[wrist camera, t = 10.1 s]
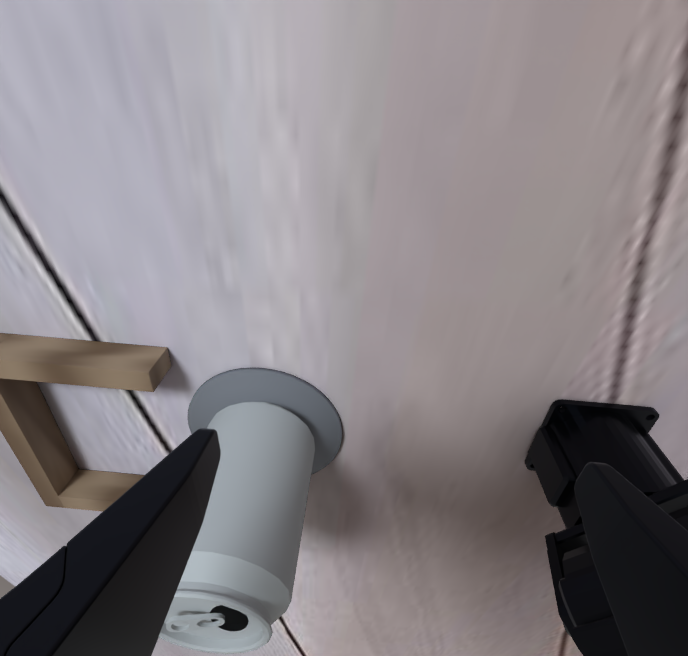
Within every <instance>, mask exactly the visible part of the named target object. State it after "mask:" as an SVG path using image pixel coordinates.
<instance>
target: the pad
mask: <svg viewBox="0 0 688 656" xmlns="http://www.w3.org/2000/svg"><path fill="white" fill-rule="evenodd" d="M243 402H267V403H271V404H275V405H279V406H281V407H283V408H285V409H286V410H288V411H290V412H292V413H293V414H294V415H296V416H297V417H298V418H299V419H300V420H301V421H303V422H304V423H305V424H306V425H307V426H308V428H309V430H310V431H311V433H312V435H313V437H314V443H315V453H314V459H313V466H312V472H311V474H314V473H316V472H318V471H319V470H321V469H323V468H324V467H325V466H327V465H328V464H329V463H330V462H331V461H332V460H333V459H334V457H335V456H336V454H337V453H338V450H339V448H340V445H341V439H342V425H341V420H340V418H339V415H338V413H337V411H336V409H335V407H334V406H333V404H332V403H331V402H330V401H329V399H328V398H327V397H326V396H325V395H324V394H323V393H322V392H320V391H319V390H318V389H317V388H315V387H314V386H312V385H311V384H309V383H307V382H306V381H304V380H302V379H300V378H298V377H296V376H293V375H290V374H287V373H285V372H281V371H277V370H272V369H265V368H240V369H234V370H230V371H226V372H223V373H220V374H218V375H216V376H214V377H212V378H211V379H209V380H208V381H206V382H205V383H204V384H203V385H202V386H201V387H200V388H199V389H198V390H197V392H196V393H195V395H194V396H193V398H192V400H191V403H190V405H189V409H188V424H189V428H190V431H191V433H192V434H193V433H194V432H195V431H196V430H198V429H200V428H207V427H208V425H209V423H210V422H211V420H212V419H213V417H214V416H215V415H216V413H218V412H219V411H221V410H223V409H224V408H226V407H228V406H230V405H235V404H239V403H243Z"/></svg>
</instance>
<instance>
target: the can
mask: <svg viewBox="0 0 688 656" xmlns="http://www.w3.org/2000/svg"><path fill="white" fill-rule="evenodd" d="M207 428H208V429H215V430H216V431H217V433H218V439H219V445H220V450H221V456H220V462H219V465H218V469H217V473H216V476H215V480H214V484H213V488H212V491H211V495H210V499H209V502H208V506H207V510H206V513H205V517H204V520H203V523H202V526H201V529H200V532H199V534H198V537H197V539H196V542H195V544H194V547H193V550H192V552H191V555H190V557H189V560H188V562H187V565H186V568H185V570H184V573H183V575H182V578H181V580H180V583H179V586H178V588H177V591H176V593H175V596H174V598H173V601H172V604H171V606H170V609H169V611H168V614H167V616H166V619H165V622H164V624H163V627H162V629H161V632H160V634H159V638H161V639H163V640H165V641H168V642H170V643H172V644H175V645H178V646H181V647H185V648H188V649H192V650H197V651H202V652H208V653H221V654H234V653H245V652H249V651H253V650H257V649H258V648H260V647H262V646H263V645H265V644H266V643H268V642H269V640H270V638H271V636H272V628H271V625H272V624H273V623H274V622H275V621H276V620H277V619H278V618H279V617H280V616H281V615H282V614H283V613H285V612H286V610H287V608H288V606H289V604H290V602H291V598H292V592H293V585H294V579H295V573H296V567H297V560H298V554H299V548H300V541H301V535H302V529H303V522H304V516H305V510H306V503H307V497H308V491H309V484H310V478H311V472H312V466H313V459H314V453H315V443H314V437H313V435H312V433H311V431H310V430H309V428H308V426H307V425H306V424H305V423H304V422H303V421H301V420H300V419H299V418H298V417H297V416H296V415H294V414H293V413H292V412H290V411H288V410H286V409H285V408H283V407H281V406H279V405H275V404H271V403H267V402H243V403H239V404H235V405H230V406H228V407H226V408H224V409H223V410H221V411H219V412H218V413H216V415H215V416H214V417H213V419H212V420H211V422H210V423H209V425H208V427H207Z"/></svg>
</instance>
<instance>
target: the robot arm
mask: <svg viewBox="0 0 688 656" xmlns="http://www.w3.org/2000/svg"><path fill="white" fill-rule="evenodd" d="M560 407H562V408H560ZM658 418H659V414H658V412H657V411H656V410H655V409H654V408H652V407H642V406H631V405H619V404H608V403H597V402H585V401H574V400H557V401H555V402H553V404H552V405H551V407H550V409H549V412H548V414H547V416H546V418H545V420H544V422H543V424H542V426H541V428H540V429H539V430H538V433H537V435H536V437H535V439H534V441H533V443H532V445H531V447H530V449H529V452H528V456H527V458H526V460H525V464H526V467H527V469H529V470H534V471H536V473H537V475H538V478H539V480H540V483H541V485H542V488H543V490H544V493H545V495H546V497H547V500H548V502H549V504H550V505H551V506H553V507H557V508H558V510H559V512H560V515H561V517H562V519H563V522H564V524H565V527H566V529H565V530H563V531H560V532H558V533H554V532H553V533H551V534H548V535H546V536H545V538H546V544H547V549H548V550H547V553H548V558H549V563H550V569H551V574H552V579H553V585H554V590H555V595H556V601H557V606H558V612H559V615H560V618H561V619H562V621H563V625H564V628H565V630H566V632H567V633H568V634H569V635H570V636H571V637H572V639H573V640H574V642H575V644H576V645H577V647H578V649H579V650H580V652H581V653H582V654H583V656H688V479H687V480H685V481H684V479H683V478H682V477H681V475H680V474H679V473H678V472H677V470H676V469H675V468H674V466H673V465H672V464H671V462H670V461H669V460H668V458H667V457H666V456H665V455H664V453H663V452H662V451H661V449H660V448H659V447H658V445H657V444H656V443H655V441H654V440H653V439H652V438H651V436H650V435H649V434H648V432H649V431H650V430H651V428H652V427H653V425H654V424H655V422H656V421H657V420H658ZM220 456H221V450H220V445H219V439H218V433H217V431H216V430H215V429H208V428H200V429H198V430H196V431H195V432H194V433H193V434H192V435H190V436H189V437H188V438H187V439H186V440H185V441H184V442H182V443H181V444H180V445H179V446H178V447H177V448H176V449H174V450H173V451H172V452H171V453H170V454H169V455H168V456H166V457H165V458H164V459H163V460H162V461H161V462H159V463H158V464H157V465H156V466H155V467H154V468H153V469H151V470H150V471H149V472H148V473H147V474H146V475H145V476H143V477H142V478H141V479H140V480H139V481H138V482H137V483H135V484H134V485H133V486H132V487H131V488H130V489H129V490H127V491H126V492H125V493H124V494H123V495H122V496H120V497H119V498H118V499H117V500H116V501H115V502H114V503H112V504H111V505H110V506H109V507H108V508H107V509H106V510H104V511H103V512H102V513H101V514H100V515H99V516H98V517H96V518H95V519H94V520H93V521H92V522H91V523H90V524H88V525H87V526H86V527H85V528H84V529H83V530H81V531H80V532H79V533H78V534H77V535H76V536H75V537H73V538H72V539H71V540H70V541H69V542H68V543H67V546H63V547H62V548H61V549H60V550H58V551H57V552H56V553H55V554H54V555H53V556H51V557H50V558H49V559H48V560H47V561H46V562H45V563H43V564H42V565H41V566H40V567H39V568H37V569H36V570H35V571H34V572H33V573H31V574H30V575H29V576H28V577H27V578H25V579H24V580H23V581H22V582H21V583H20V584H18V585H17V586H16V587H15V588H14V589H12V590H11V591H9V592H8V593H7V594H6V595H4V596H3V597H2V598H1V599H0V656H151V655H152V652H153V650H154V647H155V645H156V642H157V640H158V637H159V634H160V632H161V629H162V627H163V624H164V622H165V619H166V616H167V614H168V611H169V609H170V606H171V604H172V601H173V598H174V596H175V593H176V591H177V588H178V586H179V583H180V580H181V578H182V575H183V573H184V570H185V568H186V565H187V562H188V560H189V557H190V555H191V552H192V550H193V547H194V544H195V542H196V539H197V537H198V534H199V532H200V529H201V526H202V523H203V520H204V517H205V513H206V510H207V506H208V502H209V499H210V495H211V491H212V488H213V484H214V480H215V476H216V473H217V469H218V465H219V462H220Z"/></svg>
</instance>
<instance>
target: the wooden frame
mask: <svg viewBox="0 0 688 656" xmlns="http://www.w3.org/2000/svg"><path fill="white" fill-rule="evenodd" d="M170 368H171V362H170V357H169V353H168V349H167V348H166V347H155V346H143V345H132V344H120V343H109V342H97V341H86V340H74V339H63V338H51V337H40V336H28V335H17V334H5V333H0V430H1V432H2V434H3V435H4V437H5V439H6V440H7V442H8V444H9V445H10V447H11V449H12V450H13V452H14V454H15V455H16V457H17V459H18V460H19V462H20V464H21V465H22V467H23V469H24V470H25V472H26V474H27V475H28V477H29V478H30V480H31V482H32V483H33V485H34V487H35V488H36V490H37V492H38V493H39V495H40V497H41V498H42V500H43V502H44V503H45V505H46V506H52V507H62V508H73V509H83V510H94V511H104V510H106V509H107V508H108V507H109V506H110V505H111V504H112V503H114V502H115V501H116V500H117V499H118V498H119V497H120V496H122V495H123V494H124V493H125V492H126V491H127V490H129V489H130V488H131V487H132V486H133V485H134V484H135V483H137V482H138V481H139V480H140V479H141V478H142V477H143V476H145V475H136V474H125V473H114V472H104V471H93V470H83V469H78V467H77V465H76V463H75V461H74V459H73V457H72V455H71V452H70V450H69V448H68V446H67V444H66V442H65V440H64V438H63V436H62V434H61V432H60V430H59V428H58V426H57V424H56V422H55V419H54V417H53V415H52V413H51V411H50V409H49V407H48V405H47V403H46V401H45V399H44V397H43V395H42V393H41V391H40V389H39V386H38V384H37V382H48V383H59V384H70V385H81V386H92V387H104V388H115V389H126V390H137V391H148V392H154V391H155V389H156V388H157V386H158V385H159V383H160V382H161V381H162V379H163V378H164V376H165V375H166V373H167V372H168V370H169V369H170Z"/></svg>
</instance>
